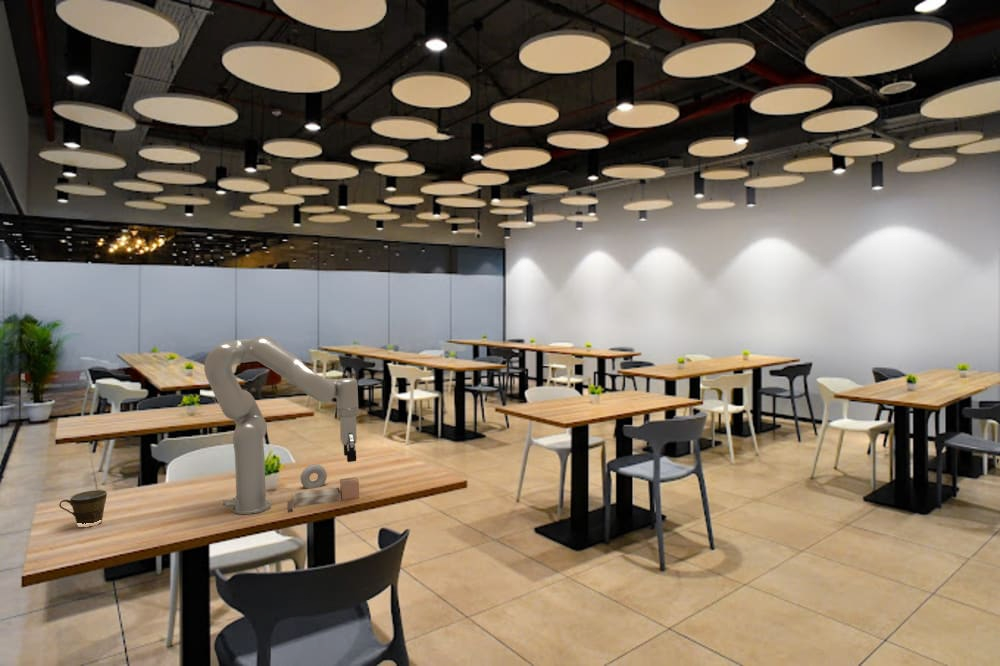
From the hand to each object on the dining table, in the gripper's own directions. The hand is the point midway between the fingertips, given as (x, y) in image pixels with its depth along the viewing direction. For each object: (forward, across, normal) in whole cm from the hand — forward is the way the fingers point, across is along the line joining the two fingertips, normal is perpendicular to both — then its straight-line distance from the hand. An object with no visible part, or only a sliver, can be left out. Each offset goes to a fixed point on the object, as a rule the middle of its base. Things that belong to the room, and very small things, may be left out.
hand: (350, 458), depth 214 cm
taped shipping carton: (+14, 0, -1) cm, 14 cm away
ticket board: (+15, 0, -4) cm, 16 cm away
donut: (+15, -18, -12) cm, 27 cm away
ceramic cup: (+14, -9, -85) cm, 87 cm away
